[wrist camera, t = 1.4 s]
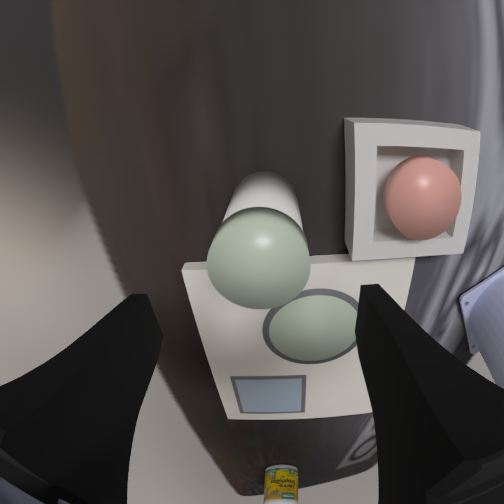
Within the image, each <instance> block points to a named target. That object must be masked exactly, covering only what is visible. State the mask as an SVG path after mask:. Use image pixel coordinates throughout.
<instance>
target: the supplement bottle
mask: <svg viewBox="0 0 504 504" xmlns="http://www.w3.org/2000/svg"><path fill="white" fill-rule="evenodd" d="M264 504H298V469H297V468H296V467H295V466H292V465H286V464H279V465H272V466H269V467H267V468H266V470H265V487H264Z"/></svg>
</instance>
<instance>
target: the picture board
mask: <svg viewBox="0 0 504 504" xmlns="http://www.w3.org/2000/svg"><path fill="white" fill-rule="evenodd" d="M309 258H310V266H311V267H310V275H309V279H308V281H307V284H306V286H305V287H304V289H303V290H302V291H301V293H300V294H299V295H298V296H297V297H295V298H294V299H293V300H291V301H290V302H288V303H286V304H284V305H281V306H279V307H275V308H270V309H250V308H245V307H242V306H239V305H237V304H234V303H232V302H231V301H229V300H227V299H226V298H225V297H223V296H222V295H221V294H220V293H219V292H218V291H217V290H216V289H215V287H214V286H213V284H212V283H211V281H210V278H209V275H208V272H207V262H188V263H185V264H184V266H183V268H182V270H181V271H182V274H183V278H184V282H185V285H186V289H187V293H188V296H189V300H190V303H191V307H192V310H193V313H194V317H195V320H196V324H197V327H198V330H199V334H200V337H201V340H202V343H203V346H204V350H205V353H206V356H207V359H208V362H209V365H210V368H211V371H212V374H213V377H214V380H215V383H216V386H217V389H218V392H219V395H220V398H221V400H222V403H223V406H224V409H225V412H226V414H227V417H228V419H246V420H279V419H306V418H322V417H334V416H344V415H353V414H362V413H369V412H372V407H371V403H370V399H369V395H368V391H367V387H366V383H365V380H364V376H363V372H362V368H361V364H360V360H359V356H358V350H357V343H356V336H355V325H356V318H357V311H358V303H359V295H360V287H361V285H368V284H379V285H380V286H381V287H382V288H383V289H384V290H385V291H386V292H387V293H388V294H389V295H390V296H391V297H392V298H393V299H394V300H395V301H396V302H397V304H398V305H399V306H400V307H401V308H402V309H403V310H404V309H405V305H406V301H407V297H408V292H409V287H410V283H411V278H412V273H413V268H414V263H415V257H405V258H391V259H375V260H360V261H352V260H351V257H350V254H337V255H319V256H309Z"/></svg>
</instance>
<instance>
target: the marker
mask: <svg viewBox="0 0 504 504" xmlns="http://www.w3.org/2000/svg"><path fill="white" fill-rule="evenodd" d="M310 267H311V266H310V258H309V252H308V246H307V241H306V237H305V235H304V232H303V229H302V223H301V217H300V211H299V205H298V199H297V195H296V191H295V189H294V187H293V186H292V184H291V183H290V182H289V181H288V180H287V179H286V178H284V177H283V176H281V175H279V174H277V173H274V172H269V171H260V172H255V173H252V174H250V175H248V176H246V177H245V178H244V179H242V180H241V181H240V182H239V184H238V185H237V187H236V189H235V191H234V193H233V196H232V199H231V201H230V204H229V206H228V209H227V212H226V214H225V217H224V219H223V222H222V224H221V225H220V226H219V228H218V230H217V232H216V234H215V237H214V239H213V242H212V244H211V247H210V250H209V253H208V256H207V272H208V275H209V278H210V281H211V283H212V284H213V286H214V287H215V289H216V290H217V291H218V292H219V293H220V294H221V295H222V296H223V297H225V298H226V299H227V300H229V301H231V302H232V303H234V304H237V305H239V306H242V307H245V308H250V309H270V308H275V307H279V306H281V305H284V304H286V303H288V302H290V301H291V300H293V299H294V298H295V297H297V296H298V295H299V294H300V293H301V291H302V290H303V289H304V287H305V286H306V284H307V281H308V279H309V275H310Z"/></svg>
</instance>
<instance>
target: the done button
mask: <svg viewBox="0 0 504 504" xmlns="http://www.w3.org/2000/svg"><path fill="white" fill-rule="evenodd" d="M461 199H462V192H461V186H460V183H459V180H458V178H457V176H456V174H455V173H454V172H453V171H452V170H451V169H450V168H449V167H448V166H446V165H445V164H443V163H441V162H440V161H438V160H436V159H434V158H432V157H429V156H424V155H417V156H412V157H409V158H407V159H405V160H403V161H402V162H400V163H399V164H398V165H397V166H396V167H395V168H394V169H393V170H392V172H391V173H390V175H389V176H388V178H387V181H386V183H385V187H384V192H383V202H384V207H385V211H386V213H387V215H388V217H389V218H390V220H391V221H392V222H393V224H394V225H395V226H396V228H397V229H398V230H399V231H400V232H401V233H402V234H403V235H405V236H406V237H408V238H411V239H414V240H428V239H432V238H434V237H437V236H439V235H440V234H442V233H443V232H445V231H446V230H447V229H448V228H449V227H450V226H451V224H452V223H453V222H454V220H455V218H456V217H457V214H458V212H459V209H460V205H461Z"/></svg>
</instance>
